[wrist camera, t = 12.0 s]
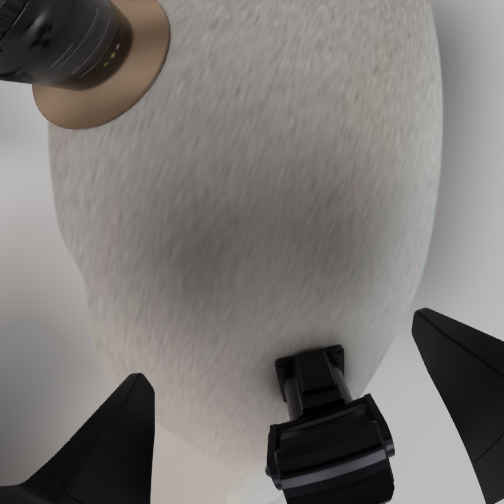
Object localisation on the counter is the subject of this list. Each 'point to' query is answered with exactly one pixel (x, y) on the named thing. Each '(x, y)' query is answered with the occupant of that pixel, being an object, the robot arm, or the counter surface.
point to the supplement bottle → (62, 42)
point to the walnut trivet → (122, 80)
